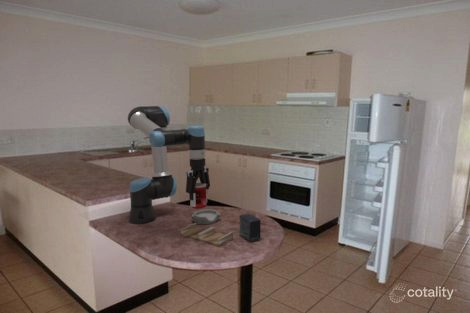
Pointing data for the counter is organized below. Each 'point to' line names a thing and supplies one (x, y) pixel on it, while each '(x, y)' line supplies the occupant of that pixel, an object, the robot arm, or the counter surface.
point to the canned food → (200, 195)
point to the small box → (250, 227)
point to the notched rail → (207, 239)
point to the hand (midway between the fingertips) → (199, 204)
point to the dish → (205, 216)
